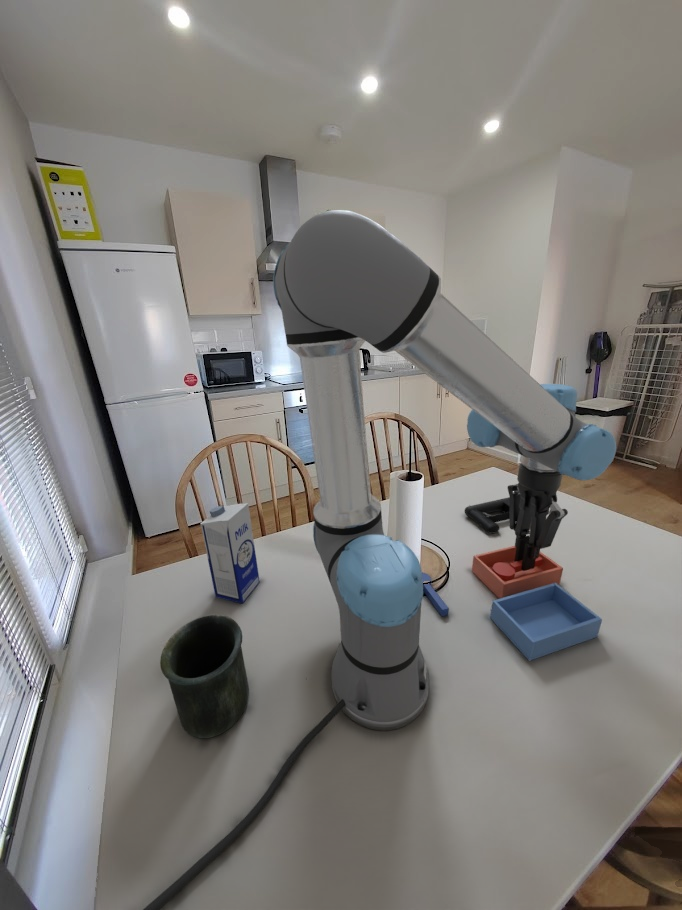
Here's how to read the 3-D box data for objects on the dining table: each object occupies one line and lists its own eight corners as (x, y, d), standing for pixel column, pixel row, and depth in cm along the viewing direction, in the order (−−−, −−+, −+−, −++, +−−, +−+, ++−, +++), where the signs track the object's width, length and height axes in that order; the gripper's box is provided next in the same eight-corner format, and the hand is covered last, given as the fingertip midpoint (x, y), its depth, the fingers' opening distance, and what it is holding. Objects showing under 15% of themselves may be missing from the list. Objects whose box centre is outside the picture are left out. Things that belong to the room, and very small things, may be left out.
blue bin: (529, 661, 59) (532, 642, 57) (489, 617, 67) (492, 600, 66) (597, 637, 63) (602, 619, 61) (551, 598, 71) (555, 582, 70)
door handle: (562, 519, 94) (516, 491, 108) (500, 535, 88) (460, 503, 102) (559, 530, 95) (514, 500, 109) (498, 546, 89) (459, 513, 103)
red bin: (501, 600, 71) (504, 584, 70) (471, 570, 80) (473, 555, 78) (559, 584, 75) (563, 568, 74) (525, 557, 84) (527, 542, 82)
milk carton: (242, 604, 73) (227, 519, 66) (214, 597, 75) (197, 514, 68) (260, 581, 79) (248, 502, 72) (234, 575, 81) (220, 498, 74)
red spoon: (532, 557, 80) (533, 551, 80) (547, 569, 76) (549, 563, 76) (487, 569, 77) (488, 563, 77) (501, 582, 74) (502, 576, 73)
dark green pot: (172, 757, 48) (152, 694, 43) (183, 664, 61) (169, 609, 56) (255, 729, 50) (244, 668, 46) (248, 646, 64) (239, 592, 59)
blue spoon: (455, 612, 69) (455, 606, 68) (435, 618, 68) (435, 612, 67) (424, 574, 79) (424, 568, 79) (406, 579, 78) (406, 573, 78)
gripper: (590, 476, 63) (566, 583, 72) (528, 451, 76) (514, 543, 85) (556, 483, 61) (535, 592, 70) (499, 456, 74) (487, 550, 83)
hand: (523, 565), depth 77 cm, fingers closed on red spoon, 1 cm apart
